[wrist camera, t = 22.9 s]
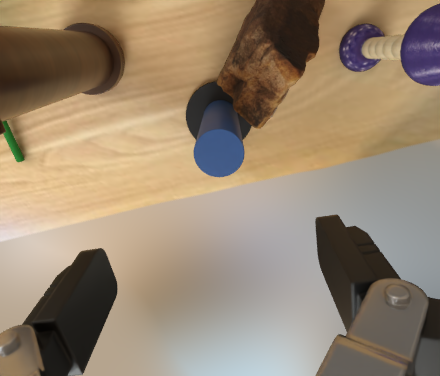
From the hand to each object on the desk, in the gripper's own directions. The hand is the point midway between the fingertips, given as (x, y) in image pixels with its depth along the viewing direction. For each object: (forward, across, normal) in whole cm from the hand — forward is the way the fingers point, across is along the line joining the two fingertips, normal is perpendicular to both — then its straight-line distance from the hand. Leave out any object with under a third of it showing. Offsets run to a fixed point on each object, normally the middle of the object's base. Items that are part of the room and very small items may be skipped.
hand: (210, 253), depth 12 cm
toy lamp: (+25, -14, -4) cm, 29 cm away
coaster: (+24, 0, 0) cm, 25 cm away
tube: (+18, 0, 0) cm, 18 cm away
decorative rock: (+25, -6, -6) cm, 26 cm away
